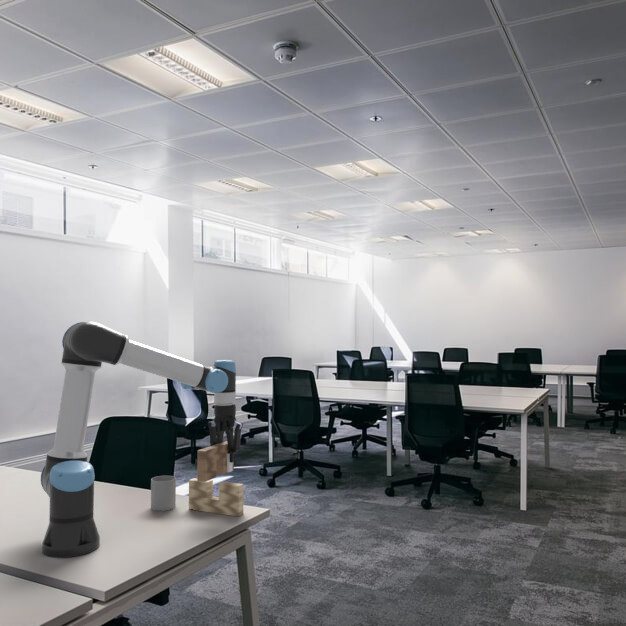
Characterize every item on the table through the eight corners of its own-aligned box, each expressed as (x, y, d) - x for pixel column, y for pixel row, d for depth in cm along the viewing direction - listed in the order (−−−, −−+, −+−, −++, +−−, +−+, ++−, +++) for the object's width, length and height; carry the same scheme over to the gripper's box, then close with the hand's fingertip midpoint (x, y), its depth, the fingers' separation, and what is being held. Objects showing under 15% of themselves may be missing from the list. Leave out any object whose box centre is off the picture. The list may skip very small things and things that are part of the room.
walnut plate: (226, 469, 211) (226, 441, 211) (233, 470, 210) (233, 441, 210) (197, 480, 194) (197, 450, 195) (205, 481, 193) (205, 451, 193)
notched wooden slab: (243, 513, 199) (243, 484, 199) (238, 516, 196) (238, 486, 197) (193, 506, 207) (194, 478, 207) (188, 509, 204) (188, 480, 205)
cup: (178, 504, 210) (179, 475, 211) (171, 511, 202) (171, 481, 202) (155, 503, 211) (156, 475, 211) (147, 510, 203) (147, 481, 203)
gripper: (250, 403, 208) (250, 470, 207) (211, 401, 214) (211, 466, 214) (239, 406, 201) (239, 475, 201) (199, 404, 208) (199, 471, 207)
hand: (225, 470), depth 207 cm, fingers closed on walnut plate, 3 cm apart
